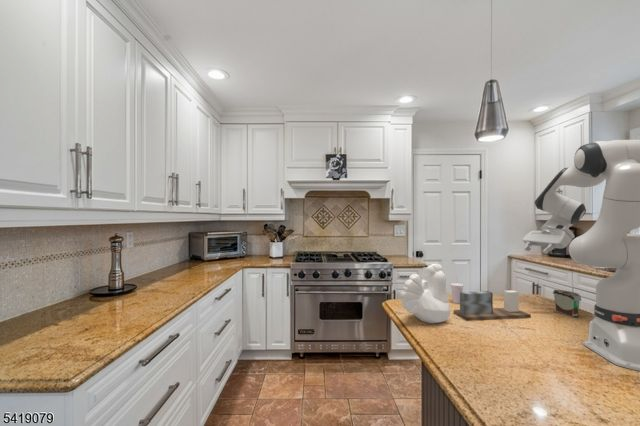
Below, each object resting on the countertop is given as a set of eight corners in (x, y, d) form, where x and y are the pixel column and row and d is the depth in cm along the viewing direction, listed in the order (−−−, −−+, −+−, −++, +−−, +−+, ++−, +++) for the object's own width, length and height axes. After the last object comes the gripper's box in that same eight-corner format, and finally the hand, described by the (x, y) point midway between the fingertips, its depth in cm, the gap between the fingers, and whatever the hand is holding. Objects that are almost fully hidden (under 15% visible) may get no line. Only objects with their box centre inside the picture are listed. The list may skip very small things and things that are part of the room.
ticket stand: (513, 310, 136) (512, 288, 137) (530, 317, 126) (530, 293, 127) (453, 313, 133) (453, 290, 133) (466, 320, 123) (466, 295, 123)
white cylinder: (513, 309, 133) (513, 290, 133) (518, 311, 130) (518, 292, 130) (504, 309, 132) (503, 290, 132) (509, 311, 129) (508, 292, 129)
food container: (589, 319, 125) (589, 296, 125) (575, 318, 125) (575, 296, 125) (565, 309, 137) (565, 289, 138) (553, 309, 138) (552, 289, 138)
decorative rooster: (435, 312, 134) (434, 260, 135) (459, 324, 119) (458, 265, 120) (388, 316, 128) (387, 262, 128) (407, 330, 113) (407, 268, 113)
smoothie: (460, 300, 152) (460, 275, 152) (465, 304, 146) (465, 277, 146) (448, 300, 153) (448, 274, 153) (453, 304, 146) (452, 277, 147)
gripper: (529, 225, 144) (512, 244, 143) (569, 226, 124) (550, 249, 123) (537, 233, 145) (520, 253, 143) (578, 236, 124) (559, 259, 123)
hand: (534, 251), depth 133 cm, fingers open, 8 cm apart
